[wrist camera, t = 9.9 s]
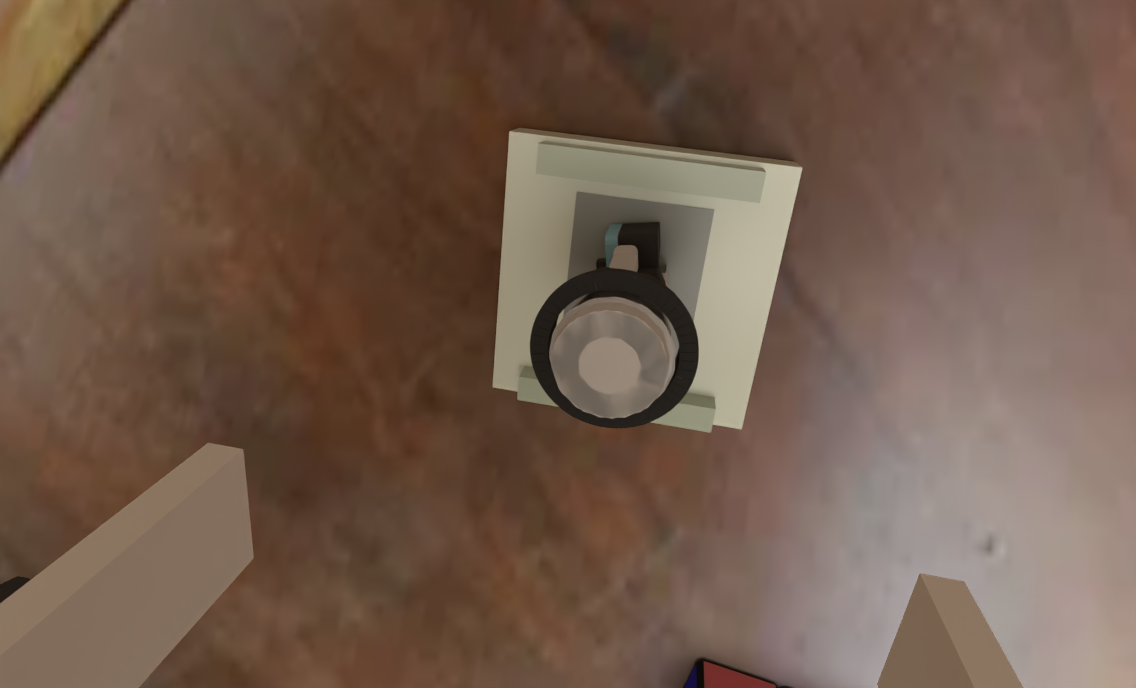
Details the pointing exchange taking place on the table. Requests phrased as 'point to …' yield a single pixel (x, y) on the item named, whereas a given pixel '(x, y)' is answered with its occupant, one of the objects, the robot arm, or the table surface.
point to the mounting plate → (688, 247)
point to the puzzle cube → (721, 678)
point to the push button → (617, 336)
